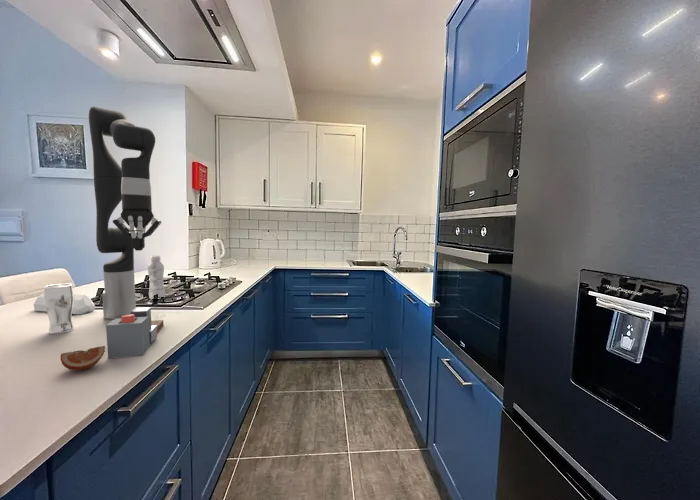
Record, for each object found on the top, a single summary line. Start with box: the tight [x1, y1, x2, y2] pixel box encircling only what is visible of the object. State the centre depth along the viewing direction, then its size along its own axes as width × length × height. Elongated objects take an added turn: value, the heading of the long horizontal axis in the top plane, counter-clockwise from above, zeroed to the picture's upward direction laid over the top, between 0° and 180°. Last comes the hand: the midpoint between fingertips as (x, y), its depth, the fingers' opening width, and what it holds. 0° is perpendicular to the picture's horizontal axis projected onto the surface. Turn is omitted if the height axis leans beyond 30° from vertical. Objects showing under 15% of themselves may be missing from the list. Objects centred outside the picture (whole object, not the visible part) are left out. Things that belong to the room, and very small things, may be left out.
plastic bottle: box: [147, 255, 166, 300], centre depth 143 cm, size 6×7×20 cm
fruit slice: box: [59, 345, 106, 371], centre depth 77 cm, size 8×7×5 cm
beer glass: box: [43, 283, 75, 335], centre depth 102 cm, size 7×7×15 cm
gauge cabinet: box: [105, 316, 151, 359], centre depth 87 cm, size 8×6×9 cm
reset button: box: [121, 314, 135, 323], centre depth 86 cm, size 3×3×7 cm
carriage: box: [131, 306, 158, 345], centre depth 94 cm, size 6×6×10 cm
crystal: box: [33, 292, 96, 315], centre depth 125 cm, size 7×7×24 cm
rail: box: [151, 319, 165, 334], centre depth 100 cm, size 4×19×2 cm, turn 17°
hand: (138, 250), depth 98 cm, fingers closed
